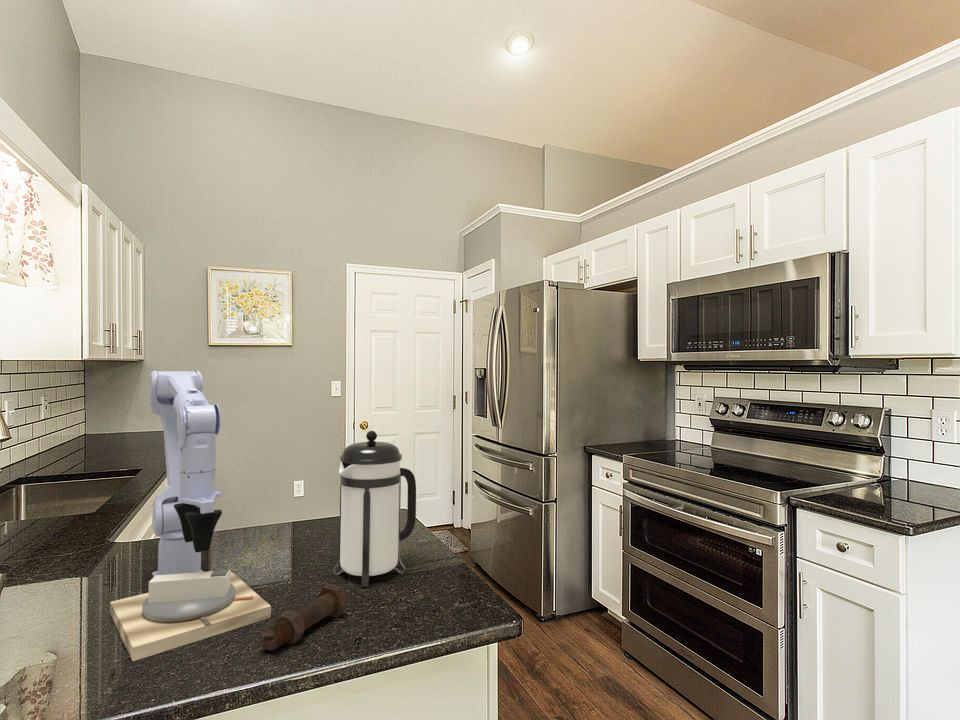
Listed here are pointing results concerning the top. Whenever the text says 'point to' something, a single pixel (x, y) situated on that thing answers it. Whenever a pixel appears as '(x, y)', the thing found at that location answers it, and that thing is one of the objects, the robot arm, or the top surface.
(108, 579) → the top surface
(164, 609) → the dial
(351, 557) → the coffee press
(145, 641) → the dial board
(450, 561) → the top surface
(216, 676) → the top surface
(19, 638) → the top surface
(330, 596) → the bolt
